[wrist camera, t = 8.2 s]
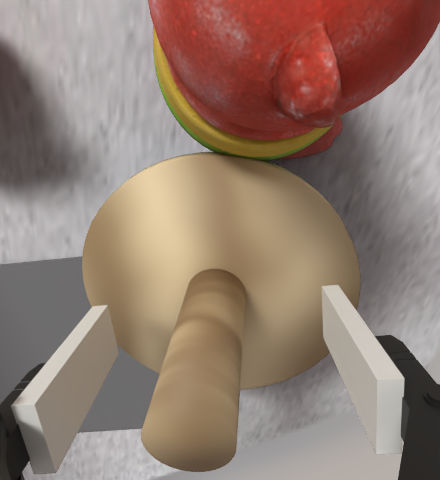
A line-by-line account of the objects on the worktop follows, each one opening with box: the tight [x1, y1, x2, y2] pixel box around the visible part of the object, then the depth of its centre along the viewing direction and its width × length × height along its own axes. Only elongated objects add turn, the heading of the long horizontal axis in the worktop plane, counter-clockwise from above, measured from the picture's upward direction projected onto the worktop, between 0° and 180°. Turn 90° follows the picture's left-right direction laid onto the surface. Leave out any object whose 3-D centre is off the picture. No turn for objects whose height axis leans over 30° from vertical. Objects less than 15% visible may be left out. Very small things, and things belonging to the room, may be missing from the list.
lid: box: [82, 152, 360, 472], centre depth 16 cm, size 15×15×9 cm
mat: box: [0, 257, 160, 433], centre depth 29 cm, size 16×16×1 cm
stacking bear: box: [148, 0, 440, 161], centre depth 14 cm, size 11×10×18 cm
